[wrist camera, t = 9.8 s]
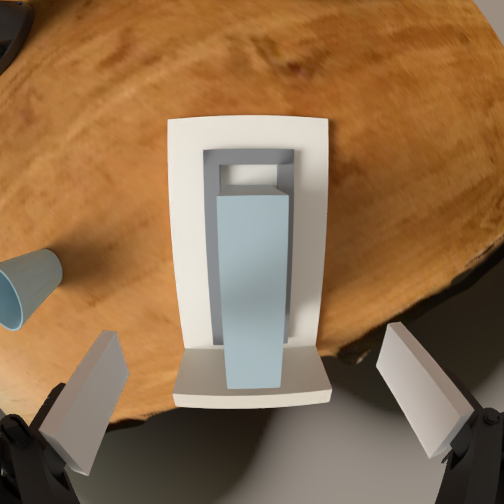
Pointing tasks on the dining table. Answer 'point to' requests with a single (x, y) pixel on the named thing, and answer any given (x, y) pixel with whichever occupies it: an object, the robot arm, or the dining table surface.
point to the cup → (26, 285)
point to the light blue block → (253, 282)
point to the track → (207, 257)
